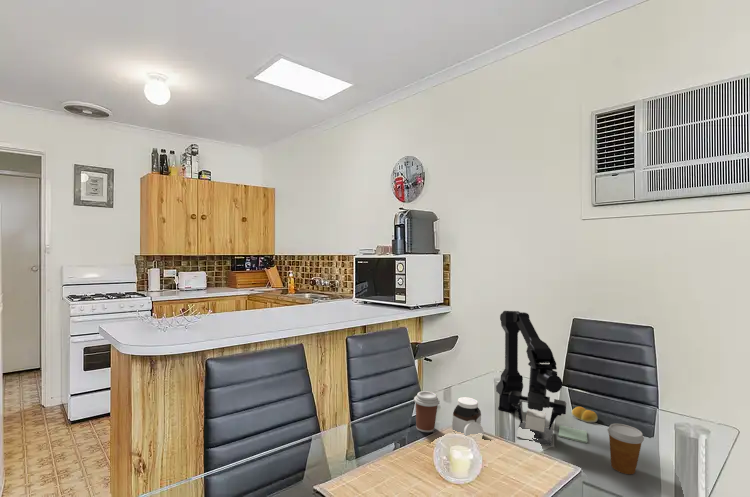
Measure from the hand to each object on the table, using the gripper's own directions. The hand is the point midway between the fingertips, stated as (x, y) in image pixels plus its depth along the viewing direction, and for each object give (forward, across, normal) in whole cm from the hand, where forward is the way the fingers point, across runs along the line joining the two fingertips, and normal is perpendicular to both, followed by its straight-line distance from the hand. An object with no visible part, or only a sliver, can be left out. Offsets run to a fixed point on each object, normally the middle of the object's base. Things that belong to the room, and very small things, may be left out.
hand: (535, 426), depth 146 cm
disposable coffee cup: (+3, +26, -9) cm, 28 cm away
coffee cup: (+4, -35, -16) cm, 39 cm away
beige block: (0, 0, 0) cm, 0 cm away
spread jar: (+4, -20, -14) cm, 25 cm away
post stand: (+3, 0, 0) cm, 3 cm away
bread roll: (+4, +16, +27) cm, 32 cm away
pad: (+3, +12, +8) cm, 15 cm away
